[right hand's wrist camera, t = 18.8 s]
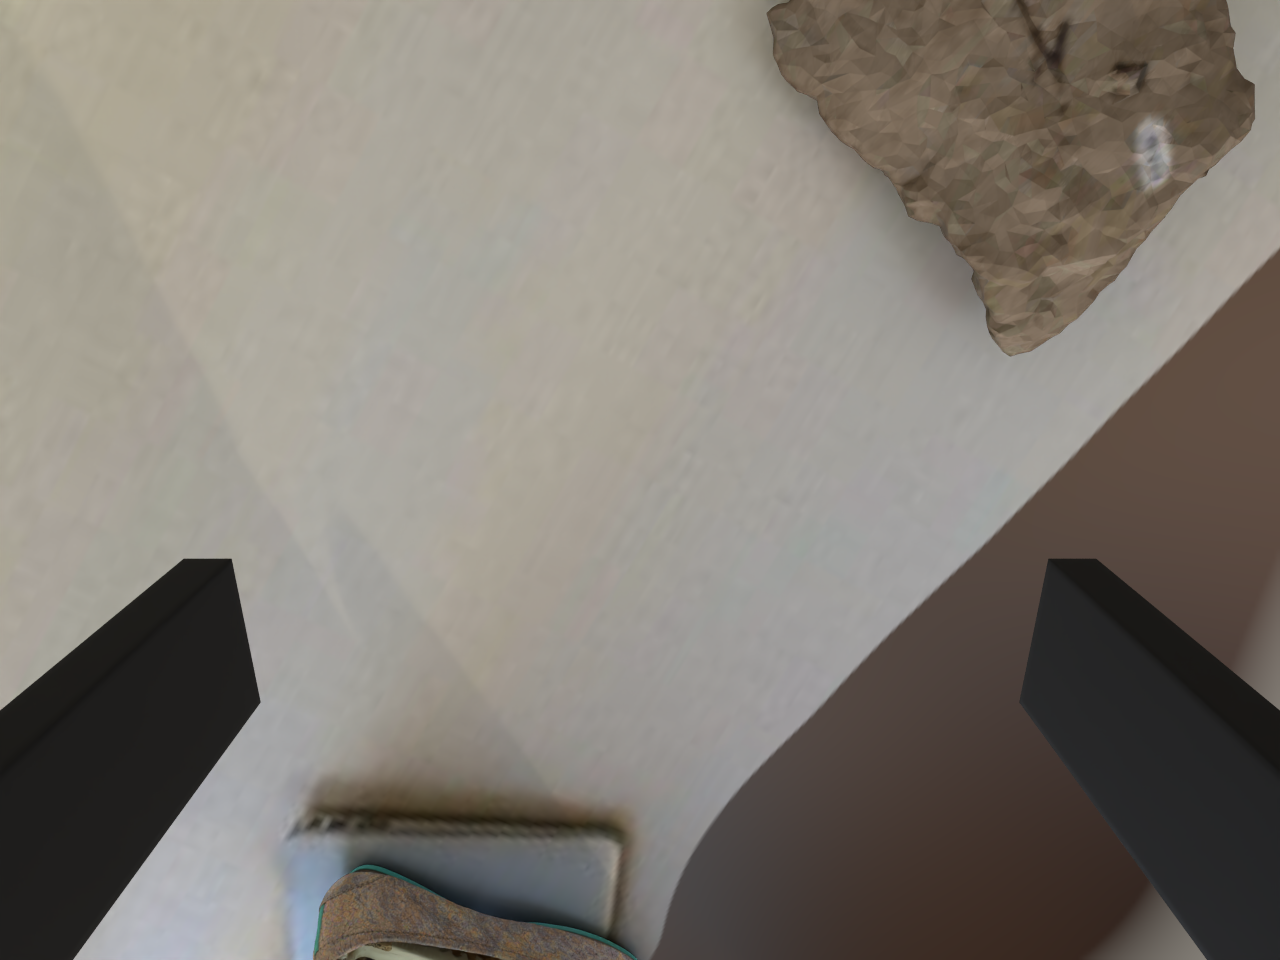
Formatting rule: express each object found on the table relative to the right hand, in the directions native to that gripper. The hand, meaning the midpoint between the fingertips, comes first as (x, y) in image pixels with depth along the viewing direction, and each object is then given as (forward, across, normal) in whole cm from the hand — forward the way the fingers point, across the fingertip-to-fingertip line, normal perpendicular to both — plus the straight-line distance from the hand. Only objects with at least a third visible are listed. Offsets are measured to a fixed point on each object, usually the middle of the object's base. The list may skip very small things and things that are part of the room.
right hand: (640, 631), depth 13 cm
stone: (+32, +17, +11) cm, 38 cm away
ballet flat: (+32, -11, -45) cm, 56 cm away
